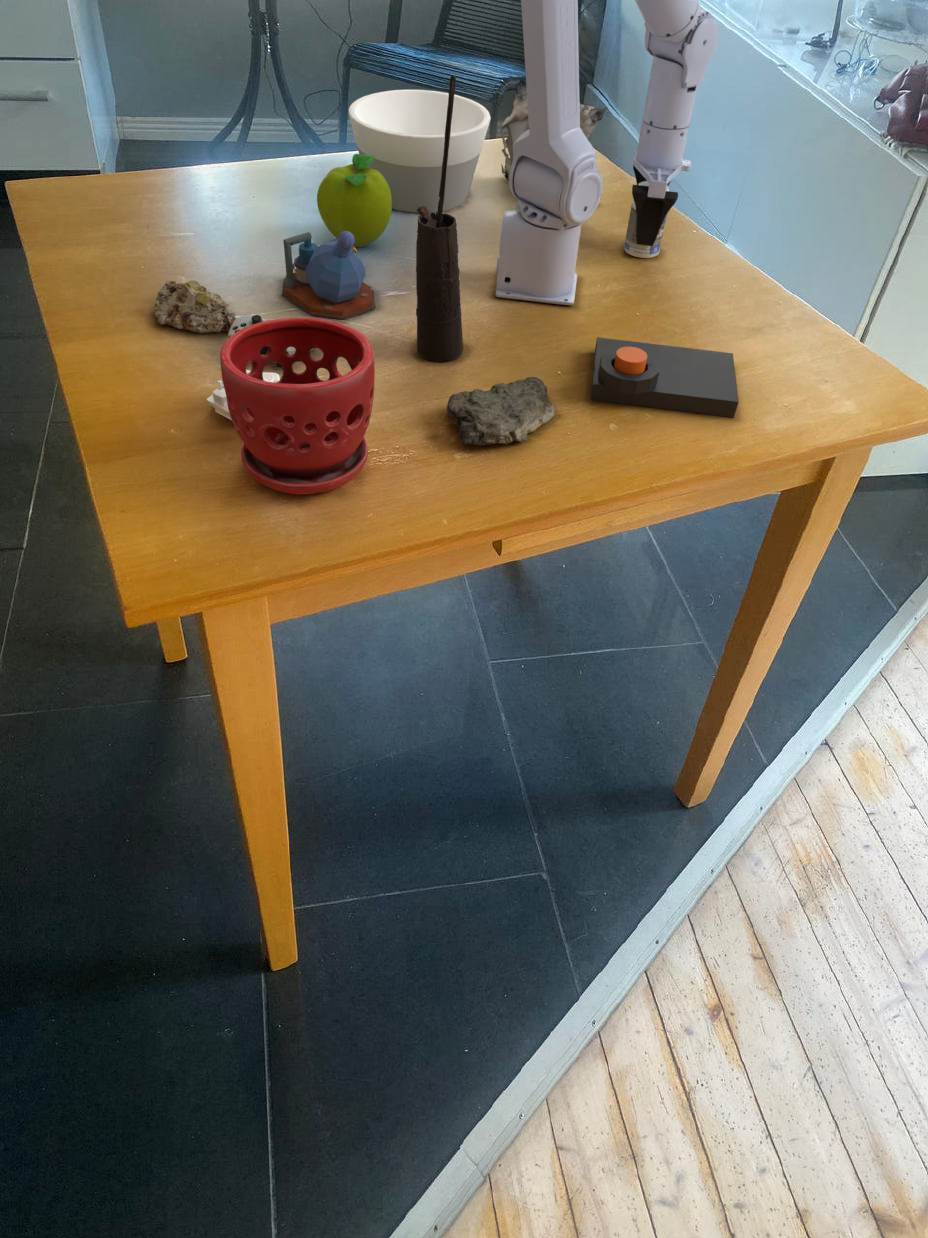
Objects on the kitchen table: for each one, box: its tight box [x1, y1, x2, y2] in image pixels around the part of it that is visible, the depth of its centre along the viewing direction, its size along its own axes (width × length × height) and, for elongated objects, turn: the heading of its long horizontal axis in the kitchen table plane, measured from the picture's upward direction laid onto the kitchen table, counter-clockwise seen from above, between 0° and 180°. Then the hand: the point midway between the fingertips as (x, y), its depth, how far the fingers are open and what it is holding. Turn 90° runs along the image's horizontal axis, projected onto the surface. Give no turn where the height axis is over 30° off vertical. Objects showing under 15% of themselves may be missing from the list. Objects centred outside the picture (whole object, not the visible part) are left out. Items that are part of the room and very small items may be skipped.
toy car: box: [206, 369, 281, 421], centre depth 94 cm, size 5×8×4 cm, turn 142°
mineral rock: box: [154, 279, 236, 334], centre depth 106 cm, size 11×4×8 cm
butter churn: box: [415, 74, 464, 363], centre depth 96 cm, size 9×10×28 cm
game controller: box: [227, 314, 316, 368], centre depth 102 cm, size 10×5×6 cm
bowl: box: [348, 89, 491, 214], centre depth 132 cm, size 19×19×11 cm
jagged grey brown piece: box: [500, 79, 607, 183], centre depth 133 cm, size 15×4×13 cm, turn 54°
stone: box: [446, 376, 555, 446], centre depth 94 cm, size 14×8×3 cm, turn 123°
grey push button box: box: [590, 336, 740, 418], centre depth 101 cm, size 15×11×4 cm
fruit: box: [316, 153, 393, 248], centre depth 120 cm, size 9×9×10 cm
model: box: [281, 231, 377, 321], centre depth 109 cm, size 12×9×9 cm
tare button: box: [614, 347, 647, 375], centre depth 98 cm, size 3×3×2 cm
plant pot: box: [219, 316, 376, 495], centre depth 85 cm, size 13×13×12 cm
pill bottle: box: [623, 181, 670, 259], centre depth 123 cm, size 5×5×8 cm
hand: (644, 233), depth 124 cm, fingers open, 6 cm apart
